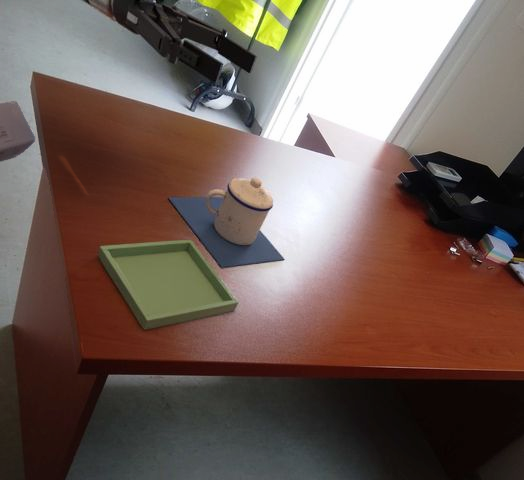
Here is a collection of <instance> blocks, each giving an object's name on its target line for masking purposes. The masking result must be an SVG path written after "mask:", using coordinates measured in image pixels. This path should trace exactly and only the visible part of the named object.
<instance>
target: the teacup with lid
mask: <svg viewBox="0 0 524 480" xmlns="http://www.w3.org/2000/svg"><path fill="white" fill-rule="evenodd" d="M226 188H227V189H226V190H223V189H220V188H219V189H218V188H216V189H215V188H214V189H211V190H210V191H209V192H208V193H207V194H206V196H205V197H206V207H207V209H208V211H209V212H210V213H212V214H213V215H216V219H215V222H214V226H215V229H216V231H217V232H218V233H219V234H220V235H221V236H222V237H223V238H224V239H226V240H228V241H229V242H232V243H234V244H238V245H249V244H252V243H253V242H254V240H255V238H256V236H257V234H258V232H259V230H260V231H261V229H262V227H263V225H264V222H265V220H266V218H267V216H268V214H269V213H270V210H272V209H273V207H274V198H273V195H272V194H271V193H270V192H269V191H268V190H267V189H266V188H265V187H264V186H263V182H262V179H260V178H258V177H251V179H248V178H243V177H236V178H233V179H231V180H230V181H229V182H228V183H227V187H226ZM215 196H220V197H224V199H223V202H222V204H221V207H220V209H219V211H217V210H215V209H213V208H212V207H211V205H210V203H209V201H210V198H211V197H215Z"/></svg>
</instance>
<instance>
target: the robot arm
mask: <svg viewBox="0 0 524 480" xmlns="http://www.w3.org/2000/svg"><path fill="white" fill-rule="evenodd" d="M81 1H82V2H84V3H86V4H87V5H89V6H90V7H92V8H93V10H96V11H97V12H99V13H101V14H102V15H104V16H105V17H107V18H108V19H110V20H111V21H113V22H115V23H117V24H118V25H119V26H121V27H123V28H124V29H126V30H128V31H129V32H130V33H132V34H133V35H137V36H138V35H139V36H140V37H141V38H142V39H143V40H144V41H146V43H148V45H149V46H150V47H152V49H154V50H155V52H157V53H158V54H159V55H160V56H161V57H162V58H167V61H168V62H169V63H170V64H173V65H176V64H177V60H178V61H179V62H181V63H183V64H184V65H186V66H188V67H189V68H191V69H192V70H194V71H195V72H197V73H198V74H200V75H202V76H203V77H205V78H206V79H207V80H209V81H211V82H213V83H214V84H218V82H219V79H220V76H221V73H222V70H223V68H224V63H223V62H221V61H220V60H218V59H217V58H215V57H214V56H212V55H211V54H209V53H207V52H206V51H204V50H203V49H201V48H199V47H198V46H197V45H195V44H193V43H191V42H195V43H197V44H199V45H202V46H205V47H207V48H210V49H212V50H215V51H216V52H217V54H218V55H220V56H221V57H223V58H224V59H226V60H227V61H229V62H231V63H232V64H234V65H235V66H237V67H238V68H240V69H241V70H243V71H245V72H246V73H248V74H251V73H252V71H253V69H254V66H255V64H256V61H257V58H258V56H257V55H256V54H254V53H252V52H251V51H249V49H246V48H245V47H243V46H241V45H240V44H239V43H237V42H235V41H234V40H232V39H231V38H229V37H227V34H228V30H227V29H225V28H222V29H220V28H218V27H216V26H213V25H211V24H210V23H207V22H206V21H203V20H201V19H199V18H198V17H195V16H194V15H191V14H189V13H187V12H185V11H184V10H182V9H180V8H179V7H177V6H176V5H169V4H166V3H163V2H162V4H160V2H159V0H81ZM189 40H190V41H189ZM182 41H183V42H182Z"/></svg>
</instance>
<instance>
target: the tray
mask: <svg viewBox="0 0 524 480" xmlns="http://www.w3.org/2000/svg"><path fill="white" fill-rule="evenodd" d="M97 258H98V259H99V261H100V262H101V264H102V265H103V267H104V269H105V271H106V272H107V274H108V275H109V277H110V279H111V280H112V281H113V283H114V285H115V286H116V288H117V289H118V291H119V292H120V294H121V296H122V298H123V299H124V301H125V302H126V304H127V306H128V307H129V308H130V310H131V312H132V313H133V315H134V316H135V318H136V320H137V321H138V323H139V325H140V326H141V328H142V329H143V330H144V331H145V330H151V329H155V328H160V327H161V328H162V327H166V326H169V325H175V324H178V323H185V322H188V321H194V320H199V319H203V318H208V317H213V316H217V315H221V314H226V313H232V312H235V311H236V309H237V307H238V305H239V301H238V299H237V298H236V297H235V296H234V294H233V293H232V292H231V290H230V289H229V288H228V286H227V285H226V283H225V282H224V281H223V280H222V278H221V277H220V275H218V273H217V272H216V270H215V269H214V267H213V266H212V265H211V264H210V262H209V261H208V259H207V258H206V257H205V256H204V254H203V253H202V252H201V250H200V249H199V248H198V247H197V245H196V244H195V243H194V241H193V239H178V240H165V241H151V242H149V241H148V242H138V243H124V244H123V243H122V244H110V245H109V244H108V245H100V246H99V249H98V253H97Z"/></svg>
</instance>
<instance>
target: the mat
mask: <svg viewBox="0 0 524 480" xmlns="http://www.w3.org/2000/svg"><path fill="white" fill-rule="evenodd" d="M206 197H207V196H205V197H204V196H183V197H182V196H168V197H167V199H168V201H169V202H170V204H171V205H172V206H173V207H174V209H175V210H176V211H177V213H178V214H179V215H180V217H181V218H182V219H183V221H184V222H185V223H186V224H187V225H188V227H189V229H190V230H191V231H192V232H193V234H194V235H195V236H196V237H197V239H198V240H199V241H200V242H201V244H202V245H203V246H204V248H205V249H206V250H207V252H208V253H209V254H210V256H212V258H213V260H214V261H215V262H216V264H218V266H219V267H220V269H226V268H233V267H241V266H250V265H257V264H264V263H272V262H279V261H281V262H282V261H285V258H284V256H283V255H282V254H281V253H280V252H279V250H278V249H277V248H276V247H275V245H274V244H273V243H271V241H270V240H269V238H267V236H266V235H265V234H264V233H263V232H262V230H261V229H260V230H259V232H258V234H257V236H256V238H255V240H254V242H253V243H252V244H249V245H238V244H234V243H232V242H229V241H228V240H226V239H224V238H223V237H222V236H221V235H220V234H219V233H218V232H217V231H216V229H215V226H214V222H215V219H216V215H213V214H212V213H210V212H209V211H208V209H207V207H206ZM223 199H224V197H223V196H212V197H211V198H210V201H209V203H210V205H211V207H212V208H213V209H215V210H217V211H219V209H220V207H221V204H222V202H223Z"/></svg>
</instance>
